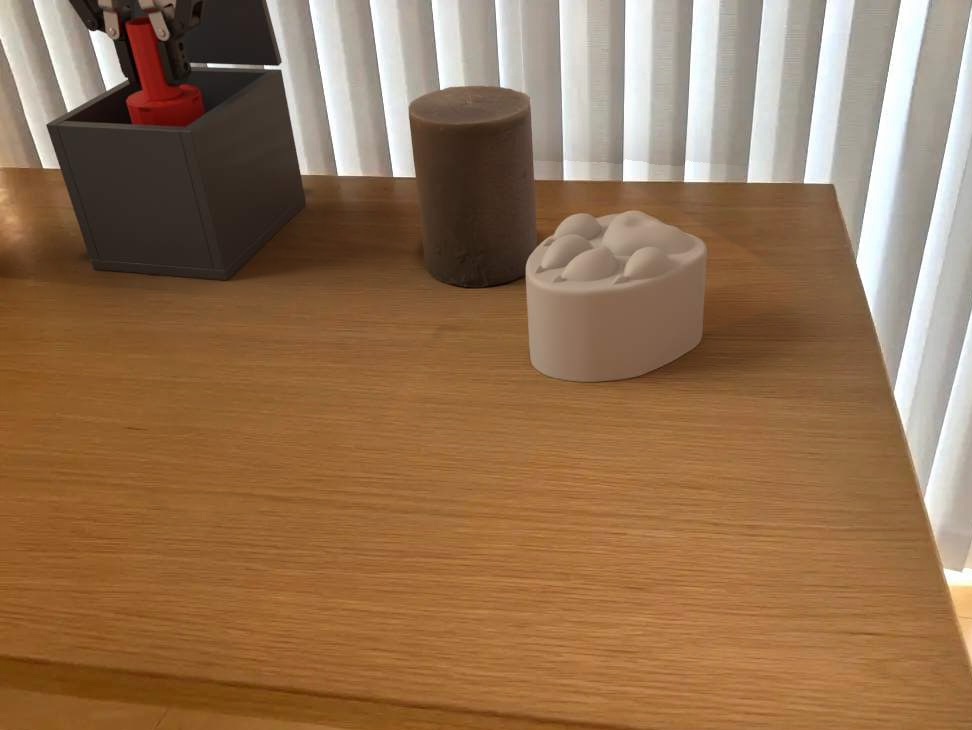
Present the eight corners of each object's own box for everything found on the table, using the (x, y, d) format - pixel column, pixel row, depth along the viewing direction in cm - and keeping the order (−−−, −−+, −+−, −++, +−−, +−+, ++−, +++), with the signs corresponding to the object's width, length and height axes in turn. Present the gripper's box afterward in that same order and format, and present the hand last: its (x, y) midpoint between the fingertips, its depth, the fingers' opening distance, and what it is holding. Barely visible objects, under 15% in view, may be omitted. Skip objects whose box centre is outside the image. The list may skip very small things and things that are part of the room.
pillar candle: (455, 299, 81) (437, 116, 72) (408, 254, 88) (386, 82, 79) (560, 268, 85) (554, 90, 76) (506, 227, 92) (495, 60, 83)
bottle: (141, 207, 88) (90, 30, 79) (177, 181, 92) (132, 11, 84) (202, 211, 87) (156, 31, 78) (235, 184, 91) (195, 12, 83)
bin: (227, 281, 85) (190, 131, 78) (93, 269, 88) (45, 124, 81) (306, 204, 98) (281, 69, 90) (186, 196, 101) (153, 64, 93)
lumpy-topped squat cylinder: (721, 337, 74) (728, 229, 70) (586, 403, 68) (584, 290, 63) (627, 287, 81) (628, 186, 76) (497, 343, 75) (488, 237, 70)
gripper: (209, -161, 75) (256, 72, 85) (48, -157, 78) (111, 67, 88) (155, -148, 69) (213, 100, 79) (-17, -144, 72) (59, 94, 82)
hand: (159, 82), depth 84 cm, fingers closed on bottle, 3 cm apart
